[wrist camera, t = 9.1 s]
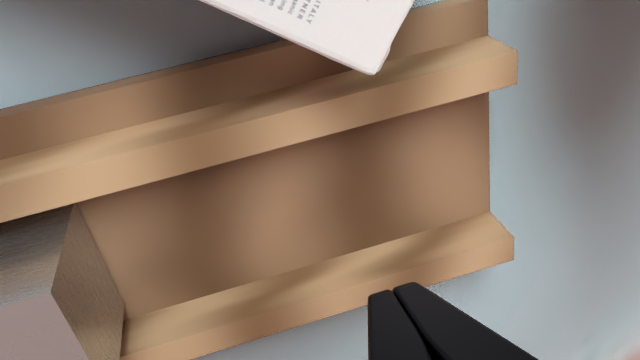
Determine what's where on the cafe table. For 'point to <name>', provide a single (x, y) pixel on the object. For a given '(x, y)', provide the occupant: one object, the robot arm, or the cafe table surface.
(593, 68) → the cafe table surface
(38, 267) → the grey pink cube
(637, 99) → the cafe table surface
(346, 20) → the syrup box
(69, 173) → the brown shallow tray
